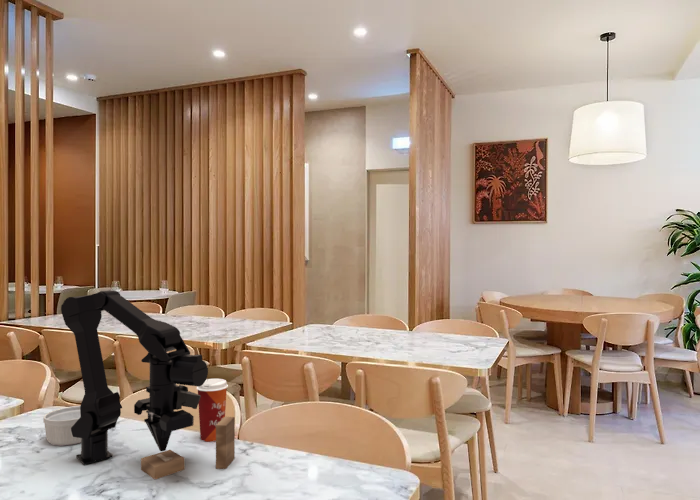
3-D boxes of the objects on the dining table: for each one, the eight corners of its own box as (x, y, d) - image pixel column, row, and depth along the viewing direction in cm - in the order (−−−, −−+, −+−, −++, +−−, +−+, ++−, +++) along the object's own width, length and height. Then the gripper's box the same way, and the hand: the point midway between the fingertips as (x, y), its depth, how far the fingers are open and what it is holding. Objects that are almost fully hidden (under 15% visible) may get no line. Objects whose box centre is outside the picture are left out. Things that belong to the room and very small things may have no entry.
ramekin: (35, 439, 132) (36, 413, 132) (88, 426, 142) (88, 401, 142) (53, 452, 123) (53, 424, 124) (108, 437, 133) (108, 411, 133)
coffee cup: (219, 444, 128) (219, 386, 128) (190, 442, 130) (190, 384, 130) (233, 433, 136) (233, 378, 137) (205, 430, 138) (205, 377, 138)
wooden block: (215, 468, 114) (215, 425, 114) (224, 457, 120) (224, 416, 120) (225, 469, 114) (226, 425, 114) (234, 458, 120) (234, 416, 120)
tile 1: (140, 471, 113) (141, 457, 113) (170, 462, 118) (170, 448, 118) (154, 481, 108) (154, 466, 108) (184, 471, 113) (184, 457, 114)
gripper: (215, 383, 113) (215, 452, 112) (178, 369, 126) (177, 431, 126) (167, 393, 105) (167, 467, 105) (133, 377, 118) (133, 442, 118)
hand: (162, 450), depth 113 cm, fingers closed
